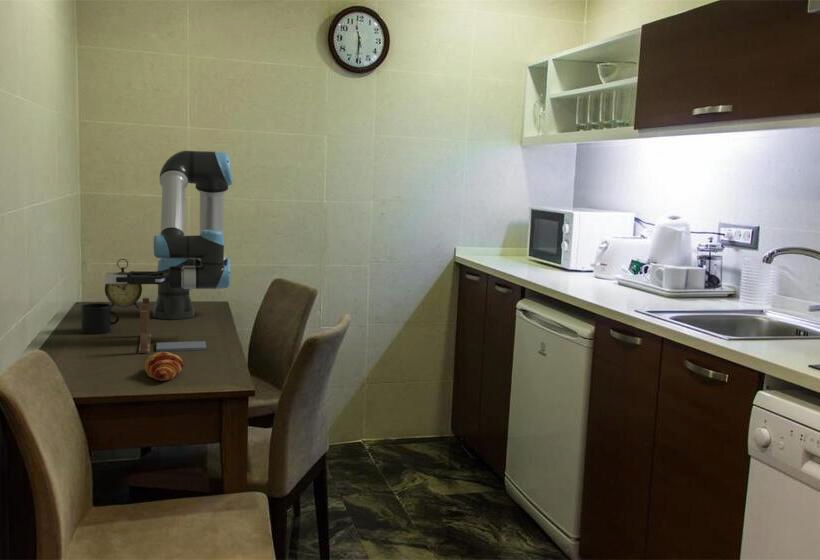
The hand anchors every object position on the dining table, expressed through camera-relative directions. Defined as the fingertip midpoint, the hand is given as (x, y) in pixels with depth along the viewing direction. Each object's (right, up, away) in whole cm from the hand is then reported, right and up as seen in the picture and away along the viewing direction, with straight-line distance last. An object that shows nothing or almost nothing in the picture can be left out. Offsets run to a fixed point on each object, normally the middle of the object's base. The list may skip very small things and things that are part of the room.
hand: (105, 277), depth 239 cm
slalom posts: (+12, -21, +2) cm, 24 cm away
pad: (+24, -22, 0) cm, 33 cm away
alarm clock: (+4, -10, +3) cm, 12 cm away
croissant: (+29, -27, -32) cm, 51 cm away
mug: (-9, -18, +18) cm, 28 cm away
